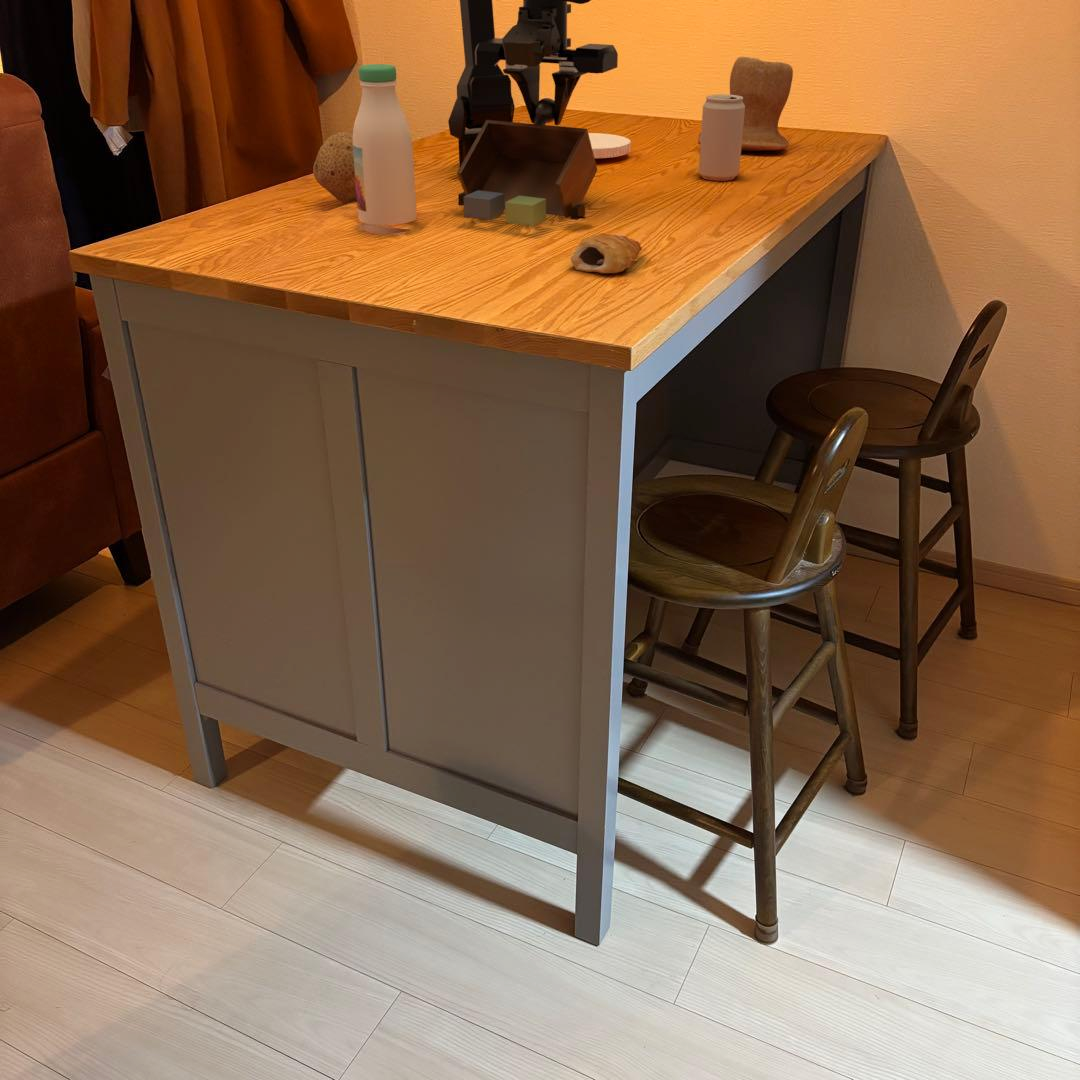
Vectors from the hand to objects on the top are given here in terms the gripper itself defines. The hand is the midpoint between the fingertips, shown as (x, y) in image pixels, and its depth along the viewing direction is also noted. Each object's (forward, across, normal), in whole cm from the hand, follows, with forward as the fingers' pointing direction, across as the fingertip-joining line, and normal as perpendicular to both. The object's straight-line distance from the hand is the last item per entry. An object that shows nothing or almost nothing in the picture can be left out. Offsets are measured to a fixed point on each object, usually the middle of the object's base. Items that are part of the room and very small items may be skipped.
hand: (545, 123), depth 147 cm
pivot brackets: (+11, 0, -8) cm, 14 cm away
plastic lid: (+12, -9, +35) cm, 38 cm away
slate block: (+9, -3, -10) cm, 14 cm away
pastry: (+11, +19, -23) cm, 32 cm away
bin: (+7, 0, -2) cm, 7 cm away
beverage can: (+12, +16, +29) cm, 36 cm away
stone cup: (+13, +14, +53) cm, 56 cm away
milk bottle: (+11, -14, -20) cm, 27 cm away
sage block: (+9, +3, -11) cm, 14 cm away
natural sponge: (+11, -26, -11) cm, 31 cm away
